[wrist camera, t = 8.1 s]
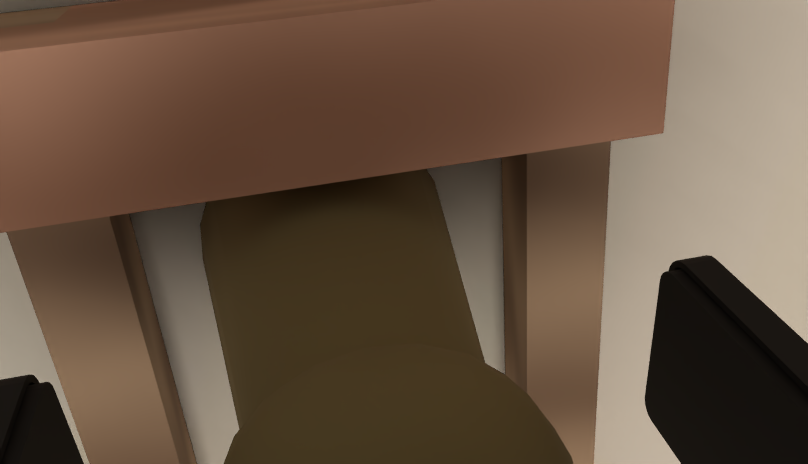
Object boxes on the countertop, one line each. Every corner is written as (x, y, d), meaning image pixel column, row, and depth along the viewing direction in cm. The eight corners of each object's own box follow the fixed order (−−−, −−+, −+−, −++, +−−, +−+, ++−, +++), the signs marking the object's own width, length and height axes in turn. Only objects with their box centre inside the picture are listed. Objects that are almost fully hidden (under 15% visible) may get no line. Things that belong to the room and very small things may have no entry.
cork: (145, 245, 18) (41, 704, 8) (325, 65, 17) (451, 342, 7) (325, 376, 20) (409, 837, 11) (490, 228, 19) (744, 589, 10)
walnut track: (-33, 16, 15) (-115, 65, 11) (583, -51, 17) (677, -28, 13) (187, 671, 24) (179, 807, 21) (563, 580, 26) (614, 691, 23)
